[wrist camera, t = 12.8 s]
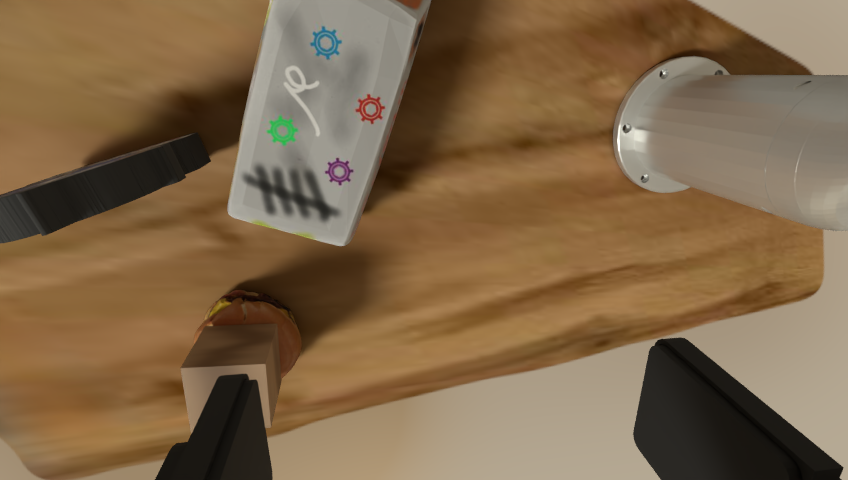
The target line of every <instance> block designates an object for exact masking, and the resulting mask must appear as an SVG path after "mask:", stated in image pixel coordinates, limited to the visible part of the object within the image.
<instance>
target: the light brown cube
mask: <svg viewBox="0 0 848 480" xmlns="http://www.w3.org/2000/svg"><path fill="white" fill-rule="evenodd" d="M181 374H182V380H183V386H184V393H185V399H186V405H187V411H188V417H189V423H190V430H191V433H192V432H193V430H194V428H195V425H196V423H197V421H198V419H199V417H200V415H201V413H202V410H203V408H204V406H205V404H206V402H207V400H208V398H209V395H210V393H211V391H212V389H213V387H214V385H215V382H216V380H217V379H218V377H219V376H221V375H233V374H248V376H249V380H254V379H256V380H257V382H258V386H259V392H260V398H261V404H262V411H263V417H264V423H265V428H271V425H272V421H273V416H274V412H275V407H276V403H277V398H278V394H279V389H280V385H281V367H280V354H279V340H278V327H277V324H252V325H226V326H205V327H204V328H203V330H202V332H201V334H200V335H199V337H198V339H197V341H196V342H195V344H194V346H193V348H192V349H191V351H190V353H189V355H188V356H187V358H186V360H185V361H184V363H183V365H182V367H181Z"/></svg>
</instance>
